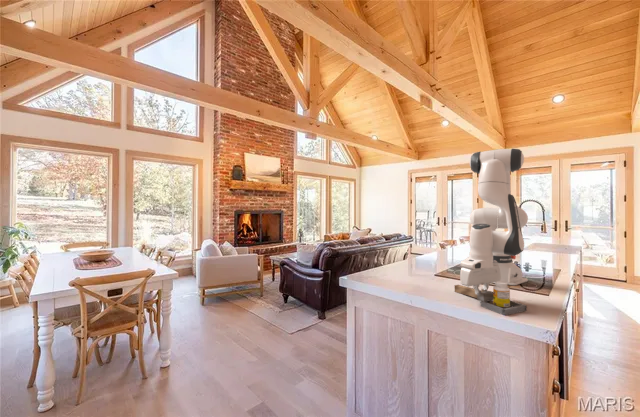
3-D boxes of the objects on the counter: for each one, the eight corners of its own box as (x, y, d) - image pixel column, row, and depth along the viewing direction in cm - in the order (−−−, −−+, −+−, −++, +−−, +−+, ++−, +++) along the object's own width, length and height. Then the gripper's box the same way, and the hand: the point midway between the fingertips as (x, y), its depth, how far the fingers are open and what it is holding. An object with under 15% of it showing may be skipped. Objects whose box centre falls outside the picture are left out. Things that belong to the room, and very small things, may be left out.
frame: (501, 302, 118) (501, 297, 118) (526, 310, 108) (526, 305, 108) (480, 306, 114) (480, 301, 114) (504, 315, 104) (504, 310, 104)
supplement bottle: (494, 304, 116) (494, 279, 115) (510, 307, 112) (510, 281, 112) (492, 308, 111) (492, 282, 111) (508, 311, 108) (508, 285, 108)
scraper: (451, 292, 131) (450, 285, 131) (462, 290, 134) (461, 284, 134) (483, 301, 115) (483, 294, 116) (495, 299, 118) (495, 292, 118)
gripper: (491, 258, 127) (491, 288, 127) (457, 262, 119) (457, 294, 120) (504, 261, 121) (504, 292, 121) (470, 265, 114) (470, 299, 114)
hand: (481, 293), depth 120 cm, fingers closed on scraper, 2 cm apart
